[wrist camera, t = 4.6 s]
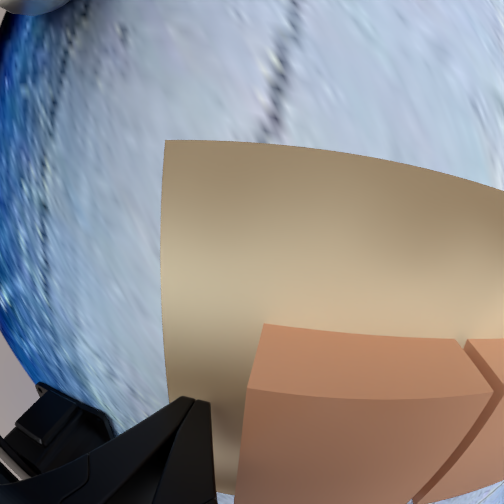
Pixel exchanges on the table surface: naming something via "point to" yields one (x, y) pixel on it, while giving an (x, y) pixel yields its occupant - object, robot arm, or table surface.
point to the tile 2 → (475, 435)
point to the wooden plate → (313, 261)
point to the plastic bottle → (31, 6)
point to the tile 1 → (352, 416)
